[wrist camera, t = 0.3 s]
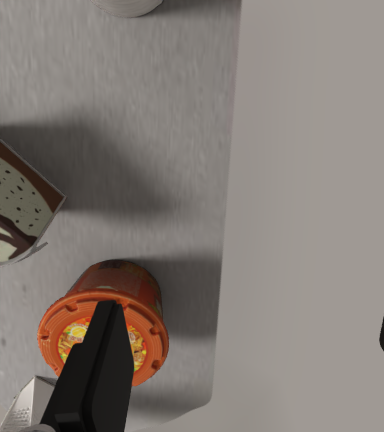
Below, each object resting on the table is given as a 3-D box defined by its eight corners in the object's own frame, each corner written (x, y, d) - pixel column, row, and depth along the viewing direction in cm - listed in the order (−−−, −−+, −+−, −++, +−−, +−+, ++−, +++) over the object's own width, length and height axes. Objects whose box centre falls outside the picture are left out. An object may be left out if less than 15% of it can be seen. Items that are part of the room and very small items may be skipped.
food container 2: (81, 341, 51) (57, 403, 41) (51, 256, 44) (13, 306, 34) (178, 329, 50) (177, 389, 40) (161, 242, 44) (155, 287, 34)
